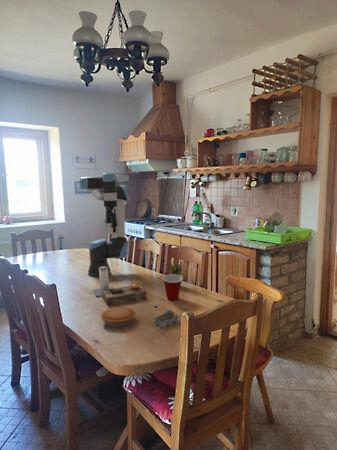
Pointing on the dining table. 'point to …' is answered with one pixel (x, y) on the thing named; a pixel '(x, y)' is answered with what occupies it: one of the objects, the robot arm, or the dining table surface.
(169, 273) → the house plant
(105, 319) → the pie
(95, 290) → the mat
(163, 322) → the egg carton
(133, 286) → the release button
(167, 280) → the plastic cup
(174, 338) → the dining table surface
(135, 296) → the housing
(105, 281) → the cartridge
